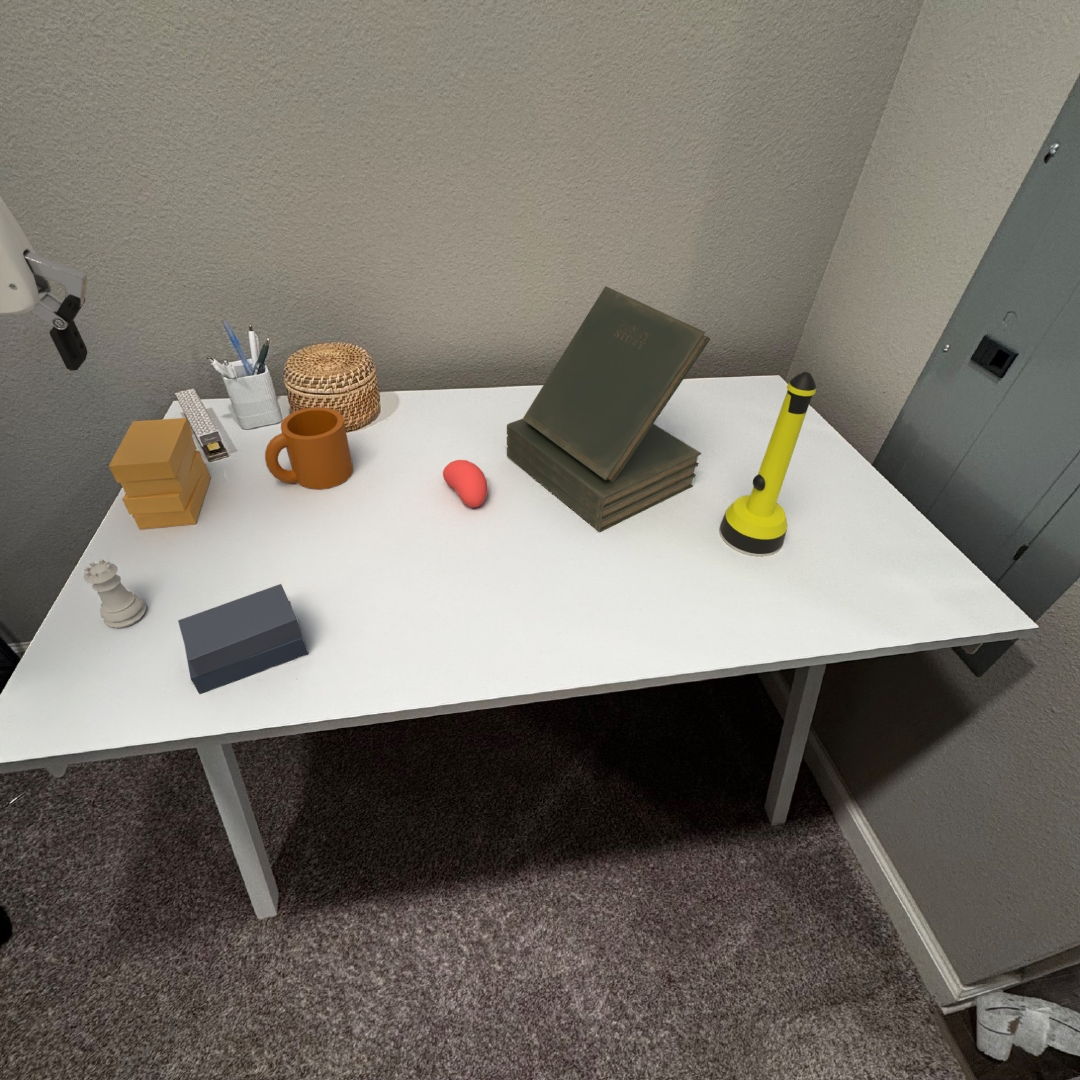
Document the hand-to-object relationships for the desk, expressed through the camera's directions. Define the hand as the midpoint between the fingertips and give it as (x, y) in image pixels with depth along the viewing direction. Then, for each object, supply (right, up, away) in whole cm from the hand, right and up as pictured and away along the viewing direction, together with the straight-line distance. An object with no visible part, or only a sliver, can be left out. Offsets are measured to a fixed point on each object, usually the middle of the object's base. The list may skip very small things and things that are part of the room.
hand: (22, 367), depth 60 cm
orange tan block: (-2, -5, +25) cm, 26 cm away
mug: (+15, -7, +36) cm, 40 cm away
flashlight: (+80, -16, +29) cm, 87 cm away
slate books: (+17, -29, +10) cm, 36 cm away
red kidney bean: (+39, -10, +34) cm, 53 cm away
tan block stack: (-3, -11, +30) cm, 32 cm away
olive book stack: (+59, -6, +40) cm, 71 cm away
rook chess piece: (+1, -26, +14) cm, 29 cm away
